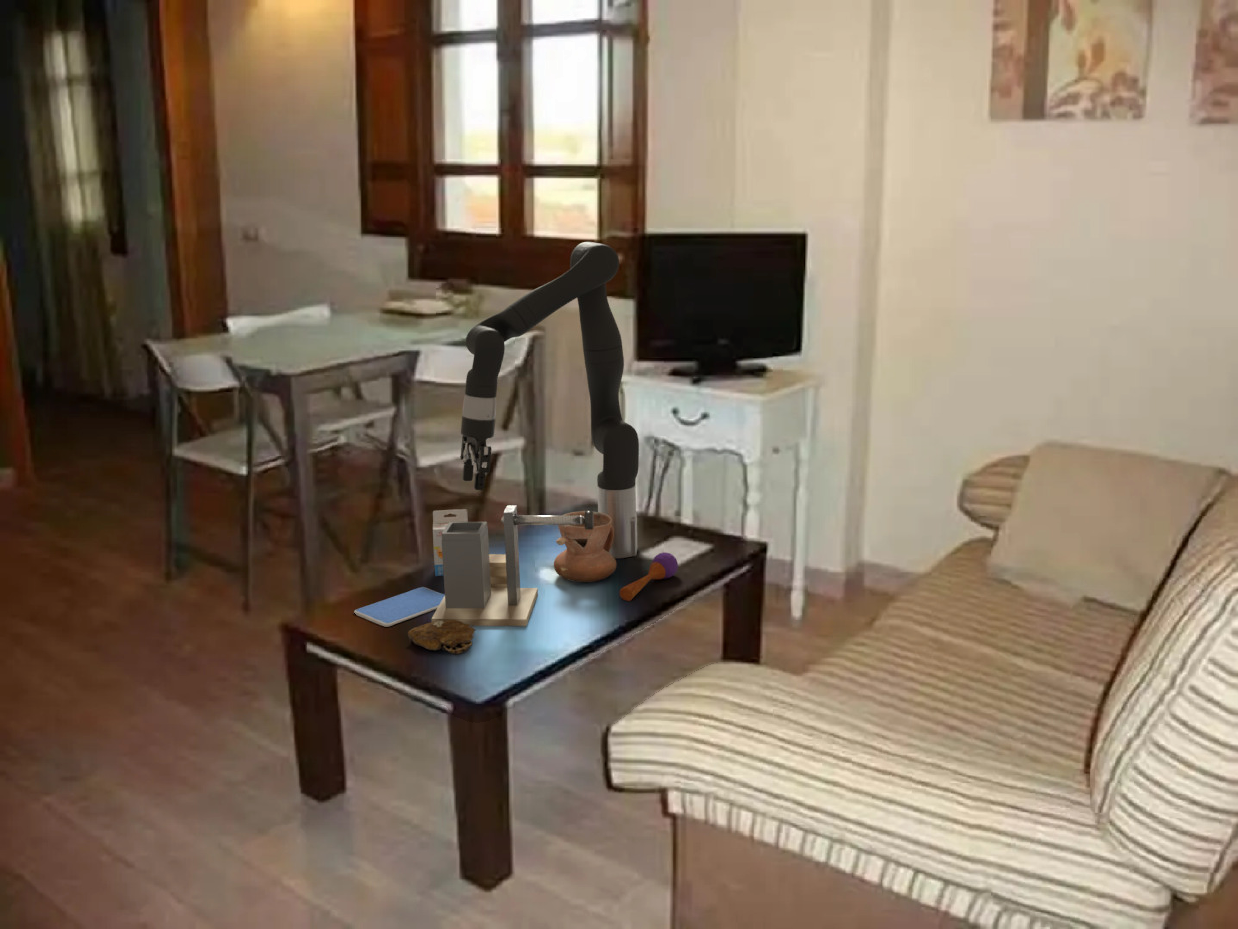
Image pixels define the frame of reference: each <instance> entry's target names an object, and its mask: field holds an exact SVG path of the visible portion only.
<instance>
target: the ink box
mask: <svg viewBox="0 0 1238 929" xmlns="http://www.w3.org/2000/svg"><path fill="white" fill-rule="evenodd" d="M449 514H451V515H455V516H448V515H449ZM445 516H446V517H445ZM468 518H469V517H468V509H466V508H462V509H445V510H444V509H443V510H433V511H432V520H433V521H432V538H433V539H432V542H433V558H434V559H433V560H434V573H435V574H434V575H435V577H444V573H443V557H442V532H443V531H444V529H445V528H446V526H447V525H448V523H449V522H469V521H468Z"/></svg>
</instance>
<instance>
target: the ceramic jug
mask: <svg viewBox="0 0 1238 929" xmlns="http://www.w3.org/2000/svg"><path fill="white" fill-rule="evenodd" d="M585 511H586V510H582V511H581V510H580V511H572V512H568V513H565V514H563V515H581V516H584V517H585ZM593 513H594V527H593V530H585V524H583V525H557V526H558V531H559V533H560V536H561V537H558V538H557V539H556V544H557V545H558V546H563V545H565V547H566V549H564V550H563V551H561V552H559V553H558V555H556V557H555V559H554V561H553V568H554V571H555V572H556V574H557V575H558V576H560V577H561V578H562V579H565V580H568V581H571V582H574V583H575V582H577V583H593V582H598V581H602V580H604V579H606V578H608V577H610V576H611V575H612V574H614V572H615V571H616V570H617V569H616V568H617V565H618V564H617V560H616V558H614V557H613V556H612V555H611V554H610V553H609V551H610V548H611V545H612V542H613V536H614V529H613V527H612V526H611V523H612V519H611V517H610V516H609V515H606V514H604V513H601V512H598V511H593Z"/></svg>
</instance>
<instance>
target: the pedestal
mask: <svg viewBox="0 0 1238 929" xmlns="http://www.w3.org/2000/svg"><path fill="white" fill-rule="evenodd" d="M488 528H489V527H488V521H468V522H449V523H448V525H447V526H446V528H445V529H444V531H443V532H442V557H443V573H444V576H443V584H444V585H443V586H444V595H445V604H446V608H480V609H485V606H486V604H487V602H488V600H489V598H490V596H491V579H490V560H489V554H490V546H489V544H490V543H489V529H488Z"/></svg>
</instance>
